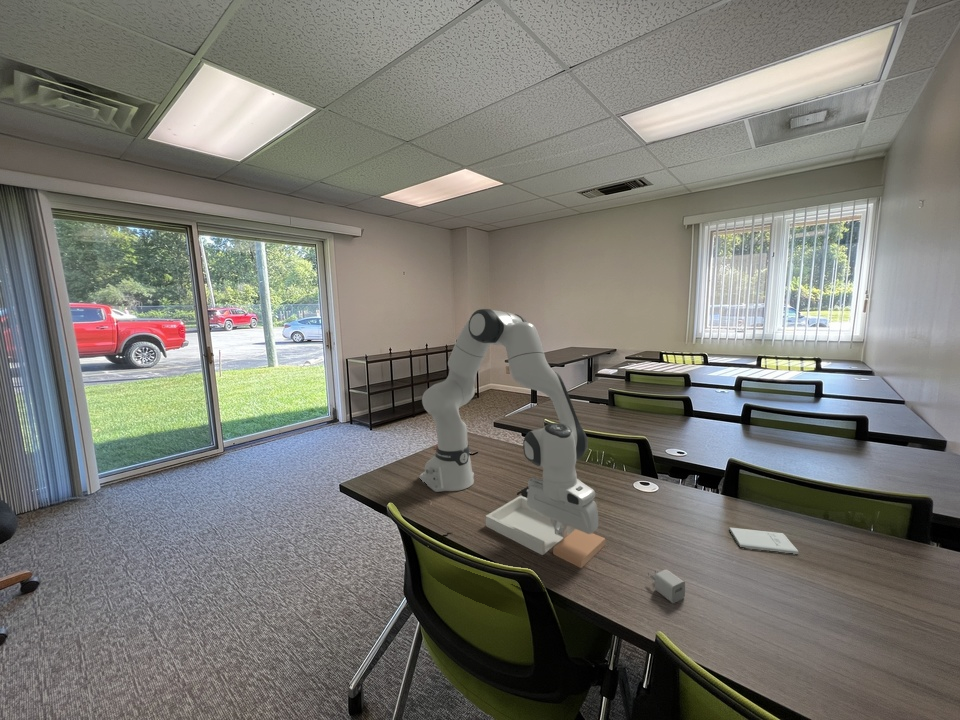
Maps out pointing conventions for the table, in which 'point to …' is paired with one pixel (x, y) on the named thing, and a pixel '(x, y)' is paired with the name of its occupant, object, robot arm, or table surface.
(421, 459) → the table surface
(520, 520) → the open box
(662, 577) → the usb wall charger
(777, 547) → the external hard drive
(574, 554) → the light orange flat block
